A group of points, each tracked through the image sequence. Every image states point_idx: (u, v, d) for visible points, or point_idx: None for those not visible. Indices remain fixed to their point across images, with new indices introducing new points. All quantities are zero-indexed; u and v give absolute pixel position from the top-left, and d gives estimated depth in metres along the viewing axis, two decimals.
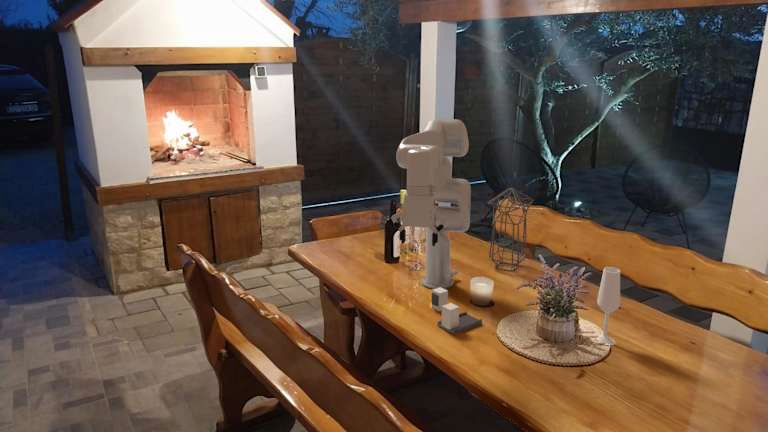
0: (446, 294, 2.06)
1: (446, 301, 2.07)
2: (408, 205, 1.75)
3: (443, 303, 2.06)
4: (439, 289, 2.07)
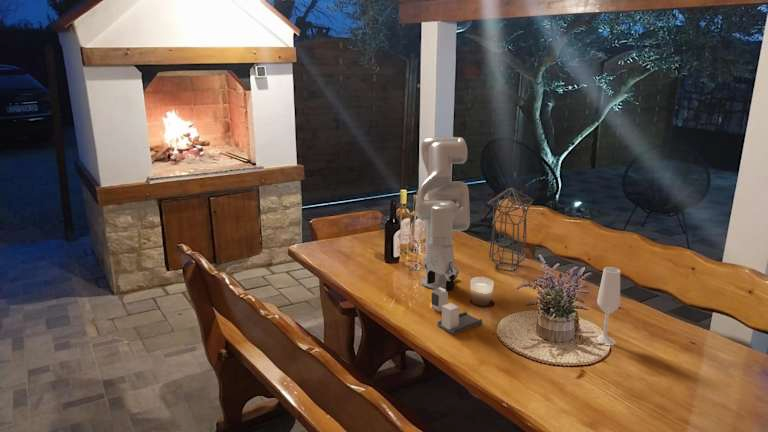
0: (446, 294, 2.06)
1: (446, 301, 2.07)
2: None
3: (443, 303, 2.06)
4: (439, 289, 2.07)
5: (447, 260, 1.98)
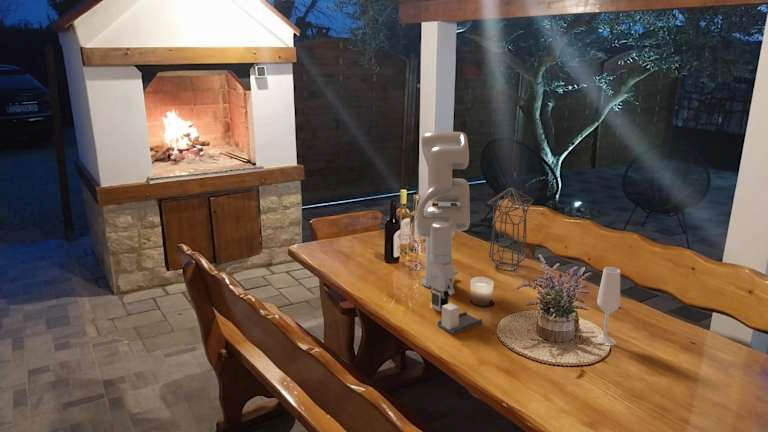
0: None
1: None
2: None
3: None
4: None
5: (446, 277, 2.00)
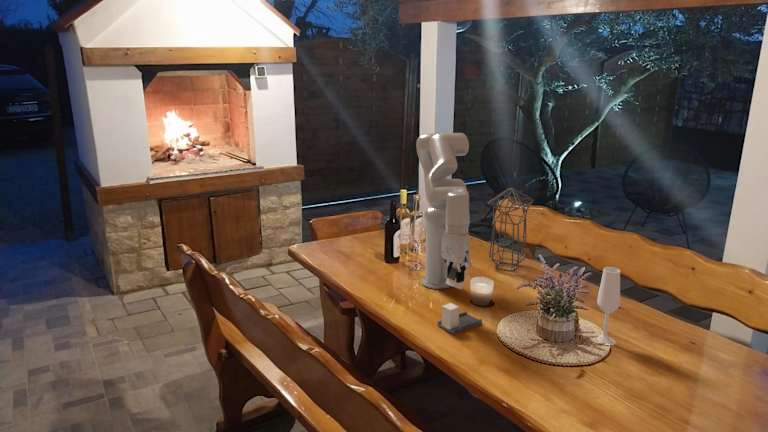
0: (465, 273, 1.98)
1: None
2: None
3: None
4: None
5: (463, 249, 1.90)
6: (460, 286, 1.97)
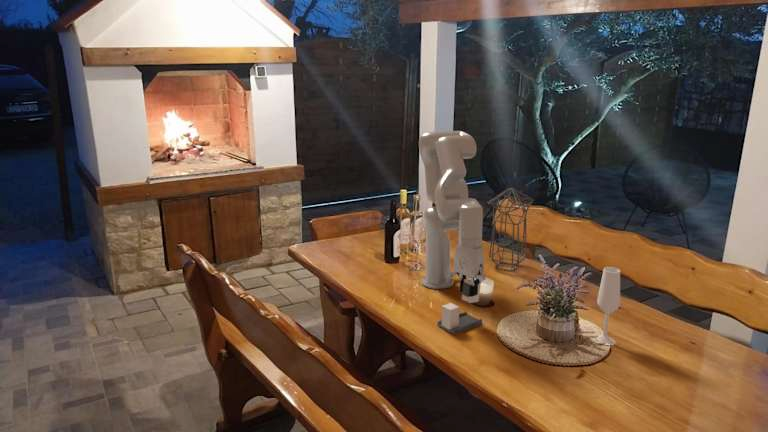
0: (479, 285, 1.93)
1: (478, 293, 1.94)
2: None
3: None
4: None
5: (477, 262, 1.86)
6: (477, 299, 1.94)
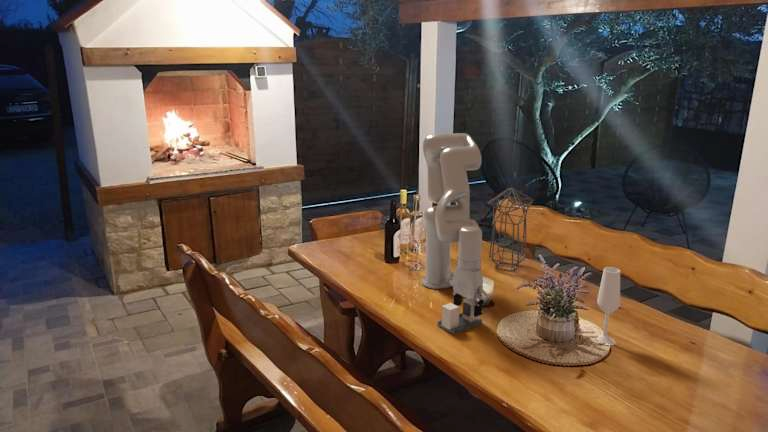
0: None
1: None
2: None
3: None
4: None
5: (476, 285, 1.89)
6: (477, 317, 1.97)
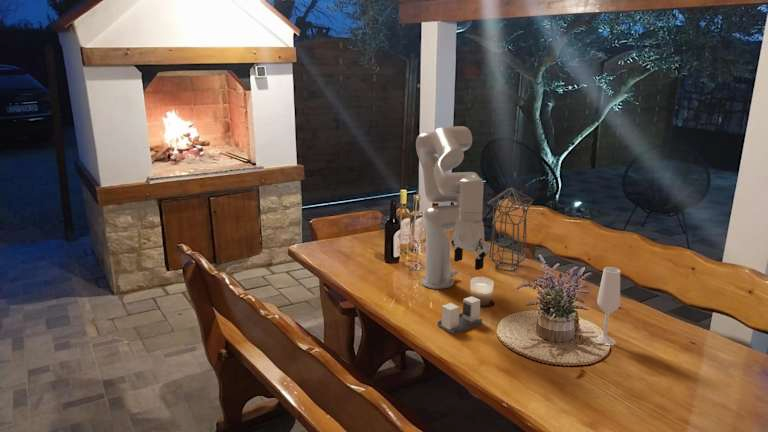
0: (478, 304, 1.95)
1: (478, 311, 1.96)
2: None
3: (475, 313, 1.95)
4: (471, 298, 1.96)
5: (477, 236, 1.85)
6: (477, 317, 1.97)
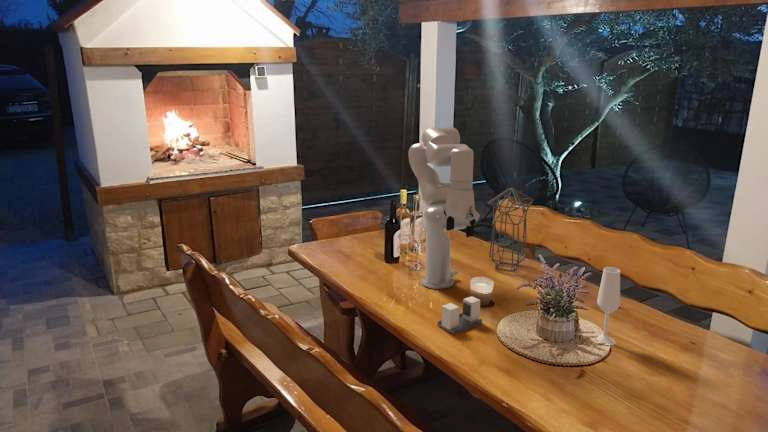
0: (478, 304, 1.95)
1: (478, 311, 1.96)
2: None
3: (475, 313, 1.95)
4: (471, 298, 1.96)
5: (468, 204, 1.93)
6: (477, 317, 1.97)
